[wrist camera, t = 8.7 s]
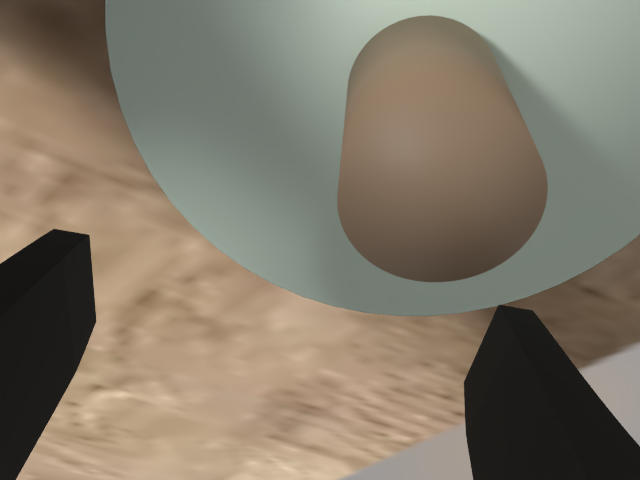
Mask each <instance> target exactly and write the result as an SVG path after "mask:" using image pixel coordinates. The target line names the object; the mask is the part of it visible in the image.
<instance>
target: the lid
mask: <svg viewBox="0 0 640 480" xmlns="http://www.w3.org/2000/svg"><path fill="white" fill-rule="evenodd" d="M105 28H106V39H107V46H108V54H109V61H110V68H111V74H112V78H113V81H114V85H115V89H116V93H117V96H118V100H119V104H120V108H121V111H122V113H123V116H124V118H125V121H126V123H127V126H128V128H129V131H130V133H131V136H132V138H133V141H134V143H135V145H136V147H137V149H138V151H139V152H140V154H141V156H142V158H143V160H144V161H145V163H146V165H147V167H148V169H149V171H150V172H151V174H152V176H153V177H154V179H155V180H156V181H157V183H158V184H159V186H160V187H161V188H162V190H163V191H164V193H165V194H166V195H167V197H168V198H169V200H170V201H171V202H172V204H173V205H174V206H175V207H176V208H177V209H178V210H179V212H180V213H181V214H182V215H183V216H184V217H185V218H186V219H187V220H188V221H189V223H190V224H191V225H192V226H193V227H194V228H195V229H196V230H197V231H198V232H199V233H201V234H202V235H203V236H204V237H205V238H206V239H207V240H208V241H210V242H211V243H212V244H213V245H214V246H215V247H216V248H218V249H219V250H220V251H221V252H223V253H224V254H226V255H227V256H228V257H230V258H231V259H233V260H234V261H236V262H237V263H238V264H240V265H241V266H243V267H244V268H245V269H247V270H249V271H251V272H252V273H254V274H256V275H258V276H260V277H262V278H263V279H265V280H267V281H269V282H271V283H272V284H274V285H277V286H279V287H281V288H284V289H286V290H288V291H291V292H293V293H295V294H298V295H300V296H302V297H305V298H309V299H312V300H315V301H318V302H321V303H325V304H328V305H331V306H335V307H340V308H345V309H350V310H355V311H360V312H365V313H374V314H384V315H394V316H433V315H444V314H455V313H463V312H469V311H474V310H479V309H485V308H490V307H495V306H498V305H502V304H505V303H509V302H512V301H516V300H519V299H523V298H526V297H529V296H531V295H534V294H536V293H539V292H541V291H544V290H546V289H549V288H552V287H554V286H557V285H559V284H561V283H563V282H565V281H567V280H569V279H571V278H573V277H575V276H577V275H579V274H581V273H583V272H585V271H587V270H589V269H591V268H592V267H594V266H595V265H597V264H598V263H600V262H602V261H603V260H605V259H606V258H608V257H609V256H611V255H613V254H614V253H616V252H617V251H619V250H620V249H622V248H623V247H624V246H626V245H627V244H628V243H630V242H631V241H632V240H633V239H635V238H636V237H637V236H638V235H640V0H105Z"/></svg>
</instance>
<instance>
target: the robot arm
mask: <svg viewBox="0 0 640 480" xmlns="http://www.w3.org/2000/svg"><path fill="white" fill-rule="evenodd" d="M95 323H96V312H95V300H94V287H93V275H92V262H91V250H90V238H89V235H86V234H80V233H75V232H69V231H63V230H57V229H53V230H52V231H50V232H48V233H47V234H45V235H43V236H42V237H40V238H39V239H37V240H36V241H34V242H33V243H31V244H30V245H28V246H27V247H25V248H24V249H22V250H20V251H19V252H17V253H16V254H14V255H13V256H11V257H10V258H8V259H7V260H5V261H4V262H2V263H1V264H0V480H16V478H17V476H18V475H19V473H20V471H21V469H22V467H23V466H24V464H25V462H26V460H27V459H28V457H29V455H30V453H31V452H32V450H33V448H34V446H35V444H36V443H37V441H38V439H39V437H40V436H41V434H42V432H43V430H44V428H45V427H46V425H47V423H48V421H49V420H50V418H51V416H52V414H53V413H54V411H55V409H56V407H57V405H58V403H59V402H60V400H61V398H62V396H63V394H64V393H65V391H66V389H67V387H68V385H69V384H70V382H71V380H72V378H73V376H74V374H75V373H76V370H77V368H78V366H79V363H80V361H81V358H82V356H83V354H84V351H85V349H86V346H87V344H88V341H89V338H90V336H91V333H92V331H93V328H94V325H95ZM464 396H465V422H466V437H467V444H468V449H469V455H470V461H471V468H472V474H473V480H640V446H639V445H638V444H637V443H636V442H635V440H634V439H633V438H632V437H631V436H630V435H629V434H628V432H627V431H626V430H625V429H624V428H623V427H622V425H621V424H620V423H619V422H618V420H617V419H616V418H615V417H614V416H613V414H612V413H611V412H610V411H609V409H608V408H607V407H606V406H605V404H604V403H603V402H602V401H601V399H600V398H599V397H598V396H597V394H596V393H595V392H594V390H593V389H592V388H591V387H590V385H589V384H588V383H587V381H586V380H585V379H584V377H583V376H582V375H581V374H580V372H579V371H578V370H577V368H576V367H575V366H574V364H573V363H572V362H571V360H570V359H569V358H568V356H567V355H566V354H565V352H564V351H563V350H562V348H561V347H560V346H559V344H558V343H557V342H556V340H555V339H554V338H553V336H552V335H551V334H550V332H549V331H548V330H547V328H546V327H545V326H544V324H543V323H542V322H541V320H540V319H539V318H538V317H537V315H536V314H535V313H534V312H533V311H532V310H526V309H520V308H514V307H508V306H503V305H498V308H497V310H496V312H495V314H494V316H493V319H492V321H491V323H490V325H489V328H488V330H487V332H486V334H485V337H484V339H483V341H482V343H481V345H480V348H479V350H478V352H477V354H476V357H475V359H474V361H473V363H472V366H471V368H470V370H469V372H468V374H467V377H466V379H465V381H464Z"/></svg>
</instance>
